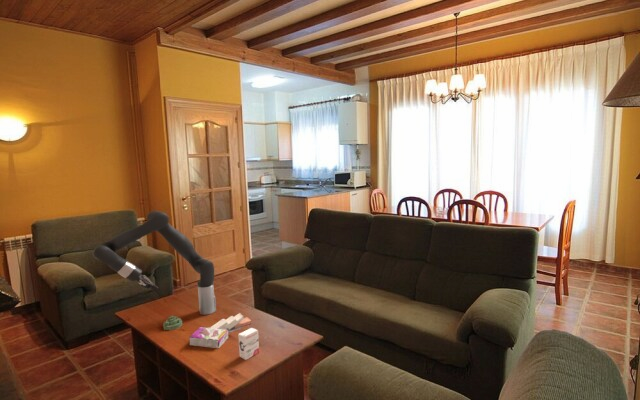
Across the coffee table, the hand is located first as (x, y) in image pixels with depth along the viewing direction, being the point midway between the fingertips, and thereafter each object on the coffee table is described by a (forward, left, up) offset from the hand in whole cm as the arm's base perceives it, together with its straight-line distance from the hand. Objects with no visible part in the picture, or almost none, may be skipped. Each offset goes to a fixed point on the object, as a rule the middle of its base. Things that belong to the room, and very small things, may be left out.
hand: (157, 289), depth 194 cm
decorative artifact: (-8, -7, -26) cm, 28 cm away
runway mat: (-28, +16, -26) cm, 41 cm away
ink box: (-30, +48, -26) cm, 62 cm away
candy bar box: (-13, +18, -23) cm, 31 cm away
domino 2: (-26, +16, -25) cm, 39 cm away
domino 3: (-31, +16, -24) cm, 42 cm away
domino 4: (-34, +16, -25) cm, 45 cm away
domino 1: (-21, +15, -25) cm, 36 cm away
